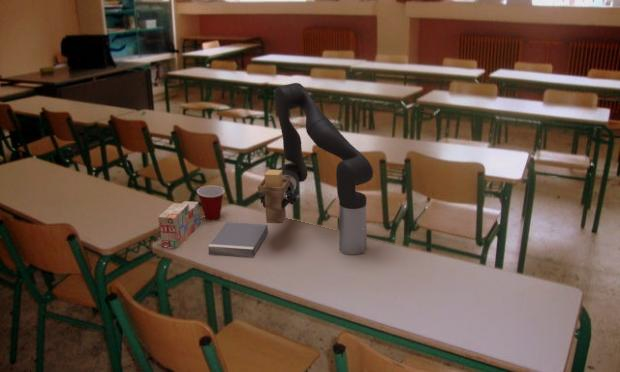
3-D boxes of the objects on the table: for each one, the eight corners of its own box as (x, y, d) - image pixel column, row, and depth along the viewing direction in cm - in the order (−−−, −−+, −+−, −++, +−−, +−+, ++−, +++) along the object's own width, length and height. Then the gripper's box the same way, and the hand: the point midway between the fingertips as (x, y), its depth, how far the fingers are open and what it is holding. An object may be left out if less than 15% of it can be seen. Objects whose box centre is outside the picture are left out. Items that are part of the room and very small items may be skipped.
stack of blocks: (186, 222, 219) (183, 193, 215) (201, 223, 218) (198, 194, 213) (161, 247, 200) (157, 216, 195) (178, 248, 198) (174, 217, 194)
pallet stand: (291, 215, 199) (289, 178, 194) (285, 225, 190) (283, 187, 185) (267, 214, 200) (264, 177, 195) (260, 224, 192) (257, 186, 187)
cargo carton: (283, 183, 193) (282, 170, 191) (279, 188, 188) (278, 175, 186) (269, 183, 193) (268, 169, 192) (265, 188, 189) (264, 174, 187)
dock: (267, 231, 209) (267, 224, 208) (253, 257, 191) (252, 249, 190) (227, 229, 212) (226, 221, 211) (209, 254, 194) (208, 246, 193)
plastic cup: (216, 225, 216) (214, 196, 211) (194, 220, 220) (191, 192, 216) (232, 214, 225) (230, 187, 220) (210, 210, 229) (207, 183, 225)
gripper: (265, 177, 206) (252, 194, 191) (303, 178, 203) (293, 196, 188) (266, 196, 209) (254, 214, 193) (304, 197, 206) (294, 216, 191)
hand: (273, 205), depth 191 cm, fingers closed on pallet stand, 5 cm apart
